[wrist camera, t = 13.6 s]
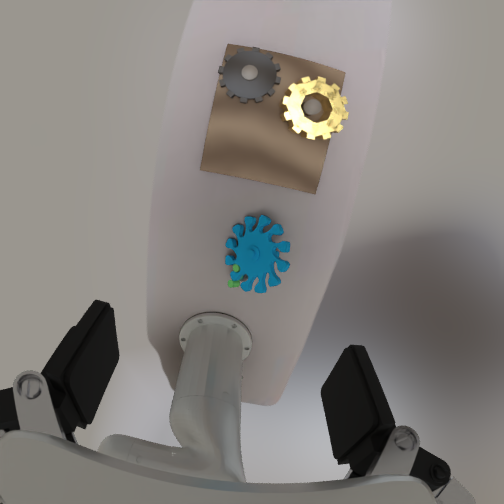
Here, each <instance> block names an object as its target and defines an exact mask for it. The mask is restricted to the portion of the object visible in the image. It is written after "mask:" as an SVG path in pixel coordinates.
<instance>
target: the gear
mask: <svg viewBox="0 0 504 504" xmlns="http://www.w3.org/2000/svg"><path fill="white" fill-rule="evenodd" d="M255 223H256V218H255V217H250V216H247V217H245V224H246V231H245V235H244V237H243V231H244V227H243V225H240V224H237V225H235V226H234V227H233V232H234V233H235V234H236V236H237V238H238V247H237V244H236V240H235V239H230V238H229V239H228V240H227V242H226V247H227V248H231V249H232V250H233V251H234V252H235V253H236V255H237V258H236V259H235V257H234V256H230V255H228V256H226V259H225V264H226V265H233V264H235V265H234V266H233V270H234V271H232V272H231V273H230V275H231V279H232V280H229V281H228V286H229V287H230V288H232V287H238V286H239V285H240V282H239V281H245V282H242V283H241V285H240V286H241V288H242V289H243V290H244V291H245V292H246V291H250V290H251V289H252V284H253V281H254V280H255V279H256V278H257V277H258V279H259V282H258V284H257V285H256V286H255V288H254V290H255V292H257V293H265V292H266V290H267V288H266V284H265V278H266V274H267V272H268V273H269V280H268V284H269V286H270V287H271V286H277V285H279V284H280V283H281V280H280V278H279V277H278V276H277V275H276V273H275V270H274V262H276V263H277V268H278V270H279V271H280V272H286V271H287V270H288V268H289V266H290V263H289V262H288V261H284V260H282V259H280V258H279V252H278V251H276V248H277V247H278V249H279V250H280V251H281V252H289V251H290V242H287V241H282V242H280V243H275V242H273V241H272V239H271V237H272V235H273V234H275V235H282V234H283V233H284V231H283V228H282V226H281V225H280V224H274V225H273V226H272V228H271V229H270V230H269V231H268V232H266V233H263V228H264V227H265V226H267V225H269V224H270V223H271V219H270V218H269V217H267V216H265V215H261V216H260V217H259V222H258V225H257V227H256V229H255V230H254V231H252V227H253V226H254V224H255ZM247 279H248V280H247ZM246 280H247V281H246Z"/></svg>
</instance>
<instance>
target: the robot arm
mask: <svg viewBox="0 0 504 504" xmlns="http://www.w3.org/2000/svg"><path fill="white" fill-rule="evenodd" d="M179 342H180V346H181V348H182V350H183V351H184V355H183V359H182V363H181V367H180V371H179V375H178V379H177V384H176V388H175V392H174V396H173V401H172V405H171V410H170V416H169V417H170V426H171V429H172V431H173V433H174V435H175V437H176V439H177V440H178V442H179V443H180V445H181V446H182V447H183V448H180V447H171V446H166V445H162V444H157V443H153V442H149V441H146V440H142V439H138V438H134V437H130V436H126V435H121V434H114V435H110V436H108V437H106V438H105V439H104V440H103V441H102V442H101V444H100V446H99V449H98V451H97V452H96V451H93V450H91V449H88V448H86V447H83V446H81V445H78V443H77V440H76V438H75V435H74V433H73V432H74V431H75V429H76V427H77V426H78V427H81V428H83V429H85V428H86V426H87V424H91V423H92V421H93V419H94V416H95V414H96V411H97V409H98V407H99V404H100V402H101V399H102V397H103V394H104V392H105V390H106V388H107V385H108V383H109V381H110V378H111V376H112V374H113V372H114V369H115V367H116V365H117V363H118V360H119V349H118V342H117V335H116V326H115V317H114V310H113V308H111V307H110V304H109V303H107V302H103V301H100V300H95V301H94V302H93V303H92V305H91V306H90V307H89V309H88V310H87V311H86V313H85V314H84V315H83V317H82V318H81V320H80V321H79V322H78V324H77V325H76V326H73V327H72V328H71V329H70V330H69V331H68V333H67V334H66V336H65V337H64V338H63V340H62V341H61V343H60V344H59V346H58V347H57V349H56V350H55V352H54V353H53V355H52V356H51V358H50V359H49V361H48V362H47V364H46V366H45V367H44V369H43V370H42V372H41V373H38V372H36V371H25V372H22V373H21V374H19V375H18V376H17V377H16V379H15V380H14V383H13V387H11V388H8V389H3V390H0V504H475V499H474V497H473V496H472V495H471V494H470V493H469V492H468V491H467V490H466V489H465V488H464V487H463V486H462V485H461V484H460V483H459V482H458V481H457V480H456V479H455V478H454V477H452V478H450V475H451V473H450V468H449V466H448V465H447V463H446V462H445V461H443V460H442V459H440V458H438V457H436V456H435V455H433V454H431V453H429V452H428V451H426V450H424V449H423V448H421V447H419V445H420V440H419V436H418V434H417V433H416V432H415V430H413V429H412V428H410V427H408V426H398V427H396V426H395V420H394V418H393V415H392V412H391V410H390V407H389V405H388V402H387V399H386V397H385V394H384V392H383V389H382V387H381V384H380V382H379V379H378V377H377V375H376V372H375V370H374V368H373V365H372V363H371V360H370V358H369V356H368V353H367V351H366V349H365V347H364V346H362V345H350V346H349V347H348V348H345V349H344V351H343V353H342V354H341V356H340V358H339V360H338V361H337V363H336V365H335V366H334V368H333V370H332V371H331V373H330V375H329V377H328V378H327V380H326V381H325V383H324V384H323V386H322V388H321V397H322V402H323V407H324V411H325V416H326V421H327V426H328V431H329V435H330V441H331V445H332V451H333V456H334V458H335V459H337V461H338V465H340V464H348V463H349V464H350V470H349V472H348V473H347V475H346V476H345V478H344V479H343V480H334V481H323V482H311V483H286V484H285V483H284V484H271V483H269V484H268V483H246V480H245V475H244V468H243V463H242V455H241V443H240V423H241V387H242V379H243V376H242V361H243V360H244V359H246V358H247V356H248V355H249V353H250V351H251V347H252V338H251V334H250V332H249V331H248V329H247V328H246V327H245V325H244V324H242V323H241V322H240V321H239V320H237V319H235V318H233V317H231V316H228V315H225V314H220V313H203V314H199V315H196V316H194V317H191V318H190V319H189V320H187V321H186V322H185V323H184V325H183V326H182V328H181V331H180V334H179Z"/></svg>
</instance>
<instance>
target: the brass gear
mask: <svg viewBox="0 0 504 504" xmlns="http://www.w3.org/2000/svg"><path fill="white" fill-rule="evenodd" d="M325 82H326V78H322V77H317V78H315V79H314V80H313V81H311V80H310V78H309V76H308V77H304V78H301V79H300V80H299V81H298V82H297V83H296V84H294V83H293V84H292V85H291V86H290V87H289V88H288V89H287V90H286V91H285V92H284V93H285V94H286V95H287V96H288V97H286V96H284V97H283V98H282V99H281V100H280V105H279V107H282V108H283V111H284V113H283V114H281V115H280V116H281V119H282V122H283V121H286V120H287V121H288V124H289V127H288V128H287V129H289V130H290V131H291V132H292V133H299V132H301V137H303V138H308V139H314V140H315V138H318V139H327V138H330V137H331V135H330V132H335V133H339V132H340V131H341V129H342V128H343V126H342V125H341V124H340V122H341V120H347V119H348V113H349V112H346V111H345V108H344V104H348V102H347V99H346V97H345V96H344V97H340V94H339V91H338V90H339V89H340V88H339V87H338V86H337V85H336V84H335V83H334V84H332V85H330V86H329V85H327V84H326V83H325ZM308 96H311V97H313V98H315V99H317V100H319V101H320V102H321V105H322V108H323V111H324V112H323V114H322V116H321V118H320V120H319V121H317V122H313V121H311V120H309V119H307V118H305V117H304V114H303V112H302V109H301V106H300V105H301V103H302V101H303V99H304V97H308Z"/></svg>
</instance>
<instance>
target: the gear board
mask: <svg viewBox="0 0 504 504" xmlns="http://www.w3.org/2000/svg"><path fill="white" fill-rule="evenodd" d="M218 73H219V74H220V76H219V80H218V84H217V88H216V93H215V97H214V102H213V106H212V111H211V115H210V120H209V125H208V130H207V135H206V140H205V145H204V151H203V156H202V162H201V167H200V170H202V171H208V172H213V173H219V174H224V175H230V176H235V177H240V178H245V179H250V180H255V181H259V182H264V183H269V184H273V185H278V186H282V187H287V188H291V189H295V190H299V191H304V192H308V193H312V194H316V190H317V187H318V183H319V179H320V176H321V172H322V168H323V164H324V161H325V157H326V153H327V149H328V145H329V141H330V138H327V139H318V138H315V140H314V139H308V138H303V137H301V132H299V133H292V132H291V131H290V130H289V129H287V128H288V127H289V124H288V121H287V120H286V121H283V122H282V119H281V116H280V115H281V114H283V113H284V111H283V108H282V107H279V105H280V100H281V99H282V98H283V97H284V96H286V97H288V96H287V95H286V94H285V93H284V92H285V91H286V90H287V89H288V88H289V87H290V86H291V85H292V84H293V83H294V84H296V83H297V82H298V81H299V80H300V79H301V78H304V77H308V76H309V78H310V80H311V81H313V80H314V79H315V78H317V77H322V78H326V82H325V83H326V84H327V85H329V86H330V85H332V84H334V83H335V84H336V85H337V86H338V87H339V88H340V89H339V90H338V91H339V94H340V95H341V91H342V86H343V82H344V77H345V72H343V71H340V70H337V69H334V68H331V67H328V66H325V65H322V64H318V63H315V62H312V61H308V60H305V59H301V58H297V57H293V56H289V55H285V54H281V53H277V52H272V51H267V50H262V49H260V48H257V47H253V48H252V47H246V46H239V45H233V44H228V45H227V48H226V52H225V56H224V60H223V64H222V66H219V70H218ZM300 106H301V109H302V112H303V114H304V117H305V118H307V119H309V120H311V121H313V122H317V121H319V120H320V118H321V116H322V114H323V112H324V111H323V108H322V105H321V102H320V101H319V100H317V99H315V98H313V97H311V96H308V97H304V99H303V101H302V103H301V105H300ZM331 133H332V132H330V135H331Z"/></svg>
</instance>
